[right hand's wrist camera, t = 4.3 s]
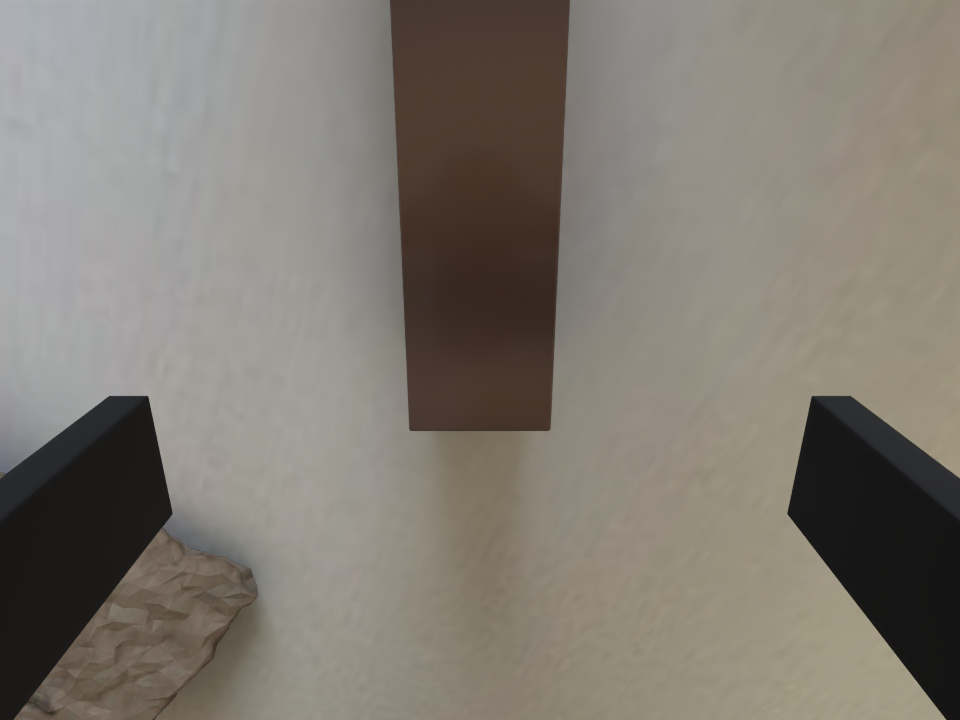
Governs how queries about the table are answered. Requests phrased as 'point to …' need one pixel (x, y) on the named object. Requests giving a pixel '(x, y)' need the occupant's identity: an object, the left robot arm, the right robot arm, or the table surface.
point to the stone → (146, 636)
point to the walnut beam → (479, 206)
